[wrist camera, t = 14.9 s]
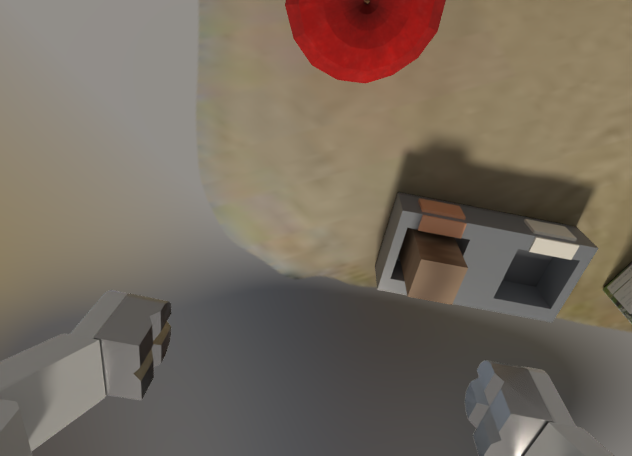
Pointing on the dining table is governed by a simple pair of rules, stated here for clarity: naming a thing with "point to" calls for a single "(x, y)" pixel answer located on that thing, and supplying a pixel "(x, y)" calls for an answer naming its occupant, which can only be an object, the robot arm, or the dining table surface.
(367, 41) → the apple
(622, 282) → the syrup box
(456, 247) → the walnut plug
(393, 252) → the socket block
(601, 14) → the dining table surface
